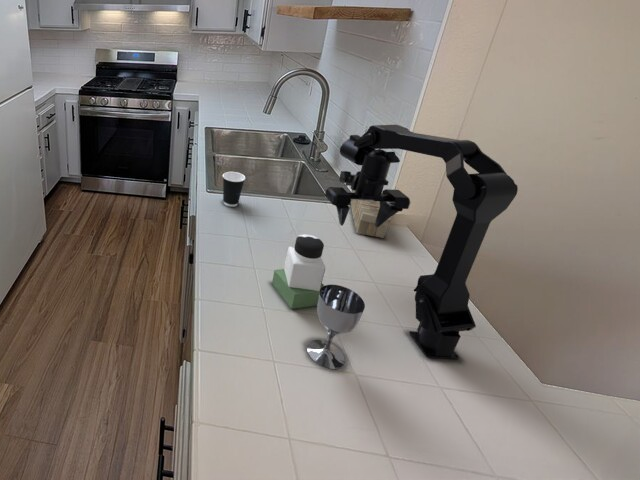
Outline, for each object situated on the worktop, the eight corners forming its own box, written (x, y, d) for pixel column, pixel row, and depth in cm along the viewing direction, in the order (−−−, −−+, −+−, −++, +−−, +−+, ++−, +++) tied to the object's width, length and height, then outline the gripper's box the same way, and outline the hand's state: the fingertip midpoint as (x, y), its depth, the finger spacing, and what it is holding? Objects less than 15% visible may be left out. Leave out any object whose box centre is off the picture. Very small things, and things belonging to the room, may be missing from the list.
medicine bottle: (320, 292, 91) (330, 250, 87) (288, 287, 93) (297, 246, 88) (312, 272, 98) (322, 233, 93) (283, 268, 99) (291, 229, 94)
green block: (324, 304, 94) (328, 289, 92) (291, 309, 92) (294, 294, 90) (302, 279, 102) (305, 266, 100) (271, 283, 100) (274, 269, 99)
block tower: (348, 198, 146) (355, 235, 121) (353, 178, 143) (362, 211, 118) (372, 202, 143) (384, 241, 118) (378, 182, 140) (391, 217, 115)
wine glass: (323, 374, 76) (340, 317, 70) (296, 342, 83) (310, 288, 77) (355, 365, 78) (375, 309, 72) (327, 335, 85) (342, 281, 79)
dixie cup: (243, 209, 136) (247, 181, 132) (220, 208, 137) (224, 180, 132) (239, 198, 143) (243, 172, 139) (218, 197, 144) (221, 171, 140)
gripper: (394, 161, 103) (378, 211, 110) (323, 159, 105) (311, 208, 111) (420, 179, 93) (401, 233, 99) (340, 176, 94) (327, 230, 101)
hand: (358, 225), depth 103 cm, fingers open, 9 cm apart
